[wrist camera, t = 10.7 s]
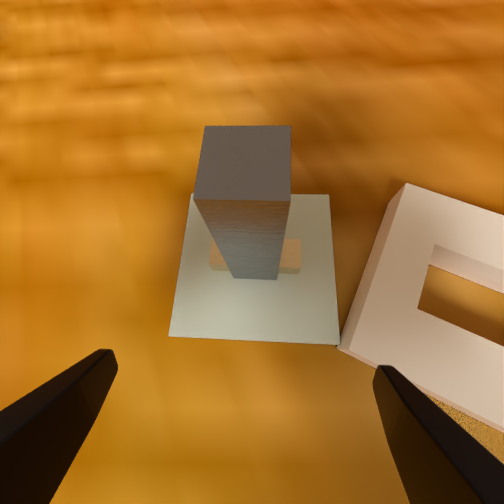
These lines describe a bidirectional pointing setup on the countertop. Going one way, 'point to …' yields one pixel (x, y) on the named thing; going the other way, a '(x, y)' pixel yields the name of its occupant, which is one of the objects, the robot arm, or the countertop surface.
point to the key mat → (261, 286)
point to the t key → (247, 200)
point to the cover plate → (408, 295)
